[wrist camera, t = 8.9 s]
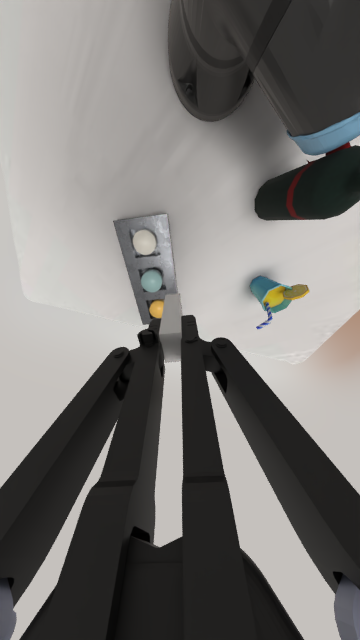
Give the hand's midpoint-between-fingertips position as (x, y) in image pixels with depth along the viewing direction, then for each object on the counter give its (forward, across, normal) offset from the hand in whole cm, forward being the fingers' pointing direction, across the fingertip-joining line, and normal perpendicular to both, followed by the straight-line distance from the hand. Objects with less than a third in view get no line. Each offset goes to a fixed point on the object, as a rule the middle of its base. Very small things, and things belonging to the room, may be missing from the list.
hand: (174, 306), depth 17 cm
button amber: (+29, -7, -14) cm, 33 cm away
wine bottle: (+31, +24, +10) cm, 40 cm away
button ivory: (+29, -7, +4) cm, 30 cm away
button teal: (+27, -7, -5) cm, 29 cm away
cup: (+31, +23, -12) cm, 40 cm away
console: (+30, -7, -5) cm, 32 cm away
